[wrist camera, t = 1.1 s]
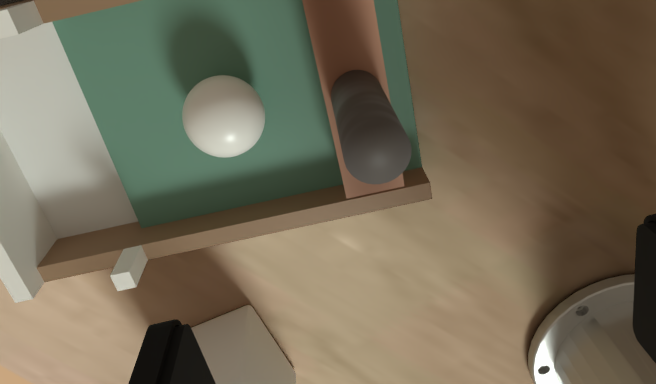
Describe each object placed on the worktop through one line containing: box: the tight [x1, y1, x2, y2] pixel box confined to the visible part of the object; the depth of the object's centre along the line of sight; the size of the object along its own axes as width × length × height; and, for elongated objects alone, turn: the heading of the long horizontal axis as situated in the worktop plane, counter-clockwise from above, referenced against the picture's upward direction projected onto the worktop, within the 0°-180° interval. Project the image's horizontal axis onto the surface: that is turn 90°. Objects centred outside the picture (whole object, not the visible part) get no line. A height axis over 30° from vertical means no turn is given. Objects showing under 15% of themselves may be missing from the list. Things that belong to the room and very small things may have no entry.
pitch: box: [0, 0, 432, 303], centre depth 27 cm, size 23×14×6 cm, turn 102°
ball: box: [182, 75, 265, 158], centre depth 27 cm, size 4×4×4 cm
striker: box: [302, 0, 411, 199], centre depth 24 cm, size 3×10×10 cm, turn 12°
